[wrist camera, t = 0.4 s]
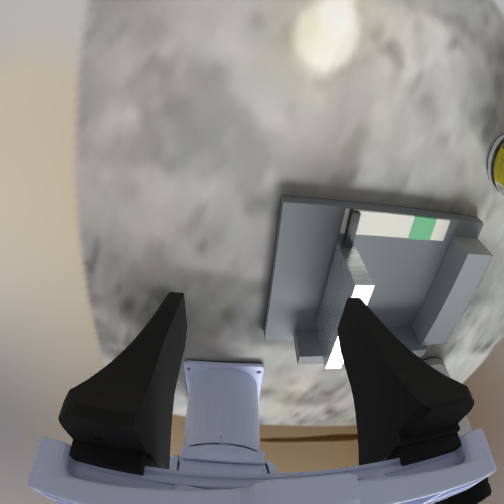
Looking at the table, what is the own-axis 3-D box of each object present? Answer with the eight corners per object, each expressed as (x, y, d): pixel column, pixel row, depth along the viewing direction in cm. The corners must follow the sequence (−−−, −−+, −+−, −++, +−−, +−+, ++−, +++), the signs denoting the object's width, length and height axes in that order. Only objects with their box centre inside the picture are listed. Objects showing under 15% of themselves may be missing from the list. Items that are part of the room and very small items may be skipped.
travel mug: (388, 378, 34) (429, 530, 18) (435, 350, 32) (492, 502, 15) (406, 392, 37) (443, 524, 20) (447, 367, 34) (496, 499, 18)
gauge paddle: (329, 323, 26) (340, 368, 22) (315, 323, 26) (325, 368, 22) (361, 208, 20) (387, 248, 16) (344, 207, 20) (367, 247, 16)
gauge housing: (426, 328, 29) (440, 357, 26) (263, 331, 28) (266, 367, 25) (477, 217, 22) (503, 242, 19) (281, 195, 21) (289, 225, 18)
